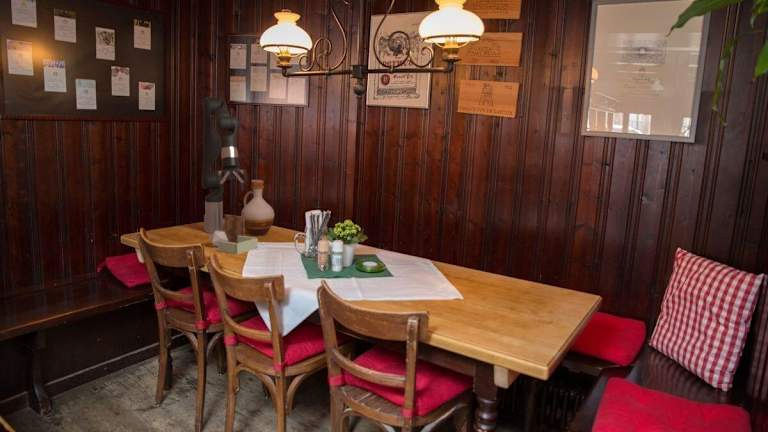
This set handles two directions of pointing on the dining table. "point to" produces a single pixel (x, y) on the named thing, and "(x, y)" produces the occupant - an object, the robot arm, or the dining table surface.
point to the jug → (257, 211)
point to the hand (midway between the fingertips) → (232, 191)
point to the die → (218, 238)
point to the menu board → (234, 227)
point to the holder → (238, 245)
